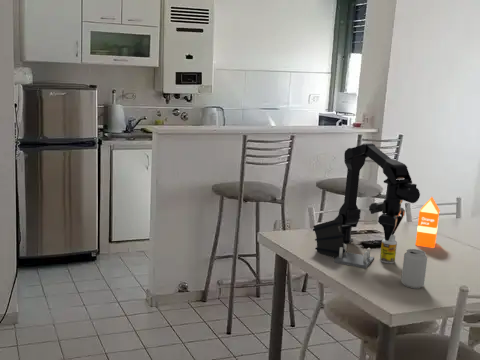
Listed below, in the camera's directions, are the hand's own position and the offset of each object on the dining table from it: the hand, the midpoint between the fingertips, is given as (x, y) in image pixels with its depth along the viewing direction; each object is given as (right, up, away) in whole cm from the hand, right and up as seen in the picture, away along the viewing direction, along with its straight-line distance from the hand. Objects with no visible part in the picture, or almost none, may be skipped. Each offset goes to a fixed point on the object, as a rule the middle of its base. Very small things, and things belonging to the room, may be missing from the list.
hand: (389, 237), depth 223 cm
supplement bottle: (0, -10, +2) cm, 10 cm away
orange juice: (+23, -6, +28) cm, 36 cm away
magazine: (-22, -8, +7) cm, 25 cm away
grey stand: (-13, -9, 0) cm, 16 cm away
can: (+2, -14, -22) cm, 27 cm away
